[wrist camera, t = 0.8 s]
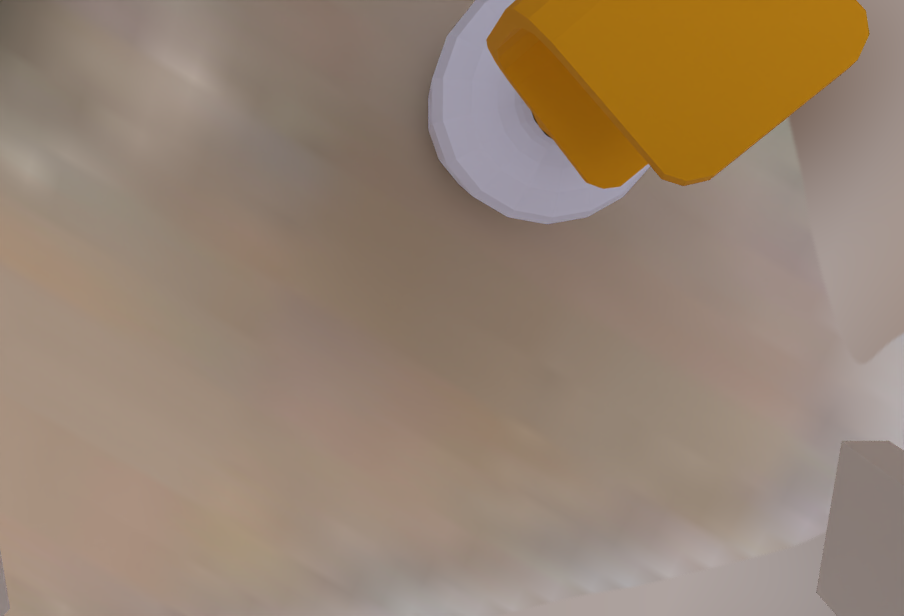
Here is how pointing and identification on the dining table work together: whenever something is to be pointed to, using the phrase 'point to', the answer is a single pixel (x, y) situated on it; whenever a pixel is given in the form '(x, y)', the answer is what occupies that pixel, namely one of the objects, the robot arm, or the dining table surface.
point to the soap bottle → (623, 92)
